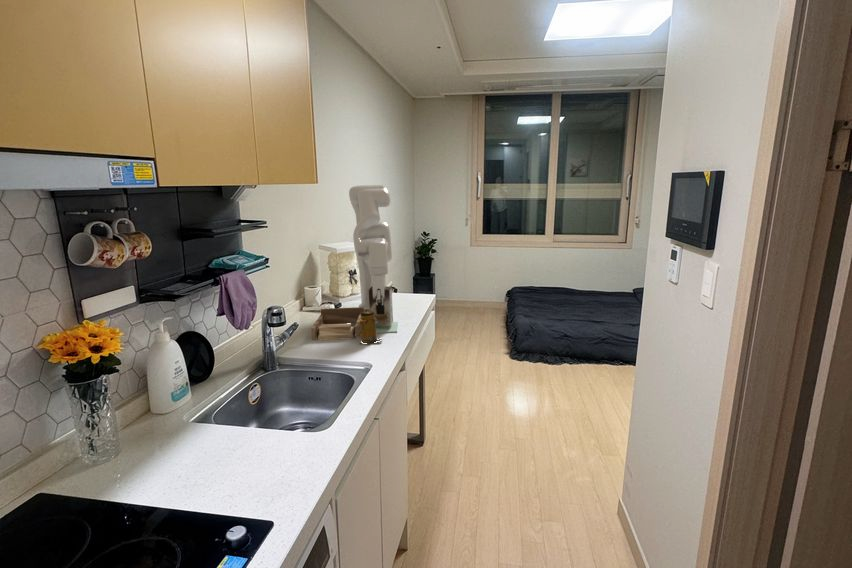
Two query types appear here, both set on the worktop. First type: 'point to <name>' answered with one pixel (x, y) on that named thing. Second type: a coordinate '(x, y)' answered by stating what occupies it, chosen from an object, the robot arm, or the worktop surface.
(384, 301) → the coffee box
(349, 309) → the rack
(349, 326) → the offcut stack
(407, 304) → the worktop surface
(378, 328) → the mat
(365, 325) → the condiment
